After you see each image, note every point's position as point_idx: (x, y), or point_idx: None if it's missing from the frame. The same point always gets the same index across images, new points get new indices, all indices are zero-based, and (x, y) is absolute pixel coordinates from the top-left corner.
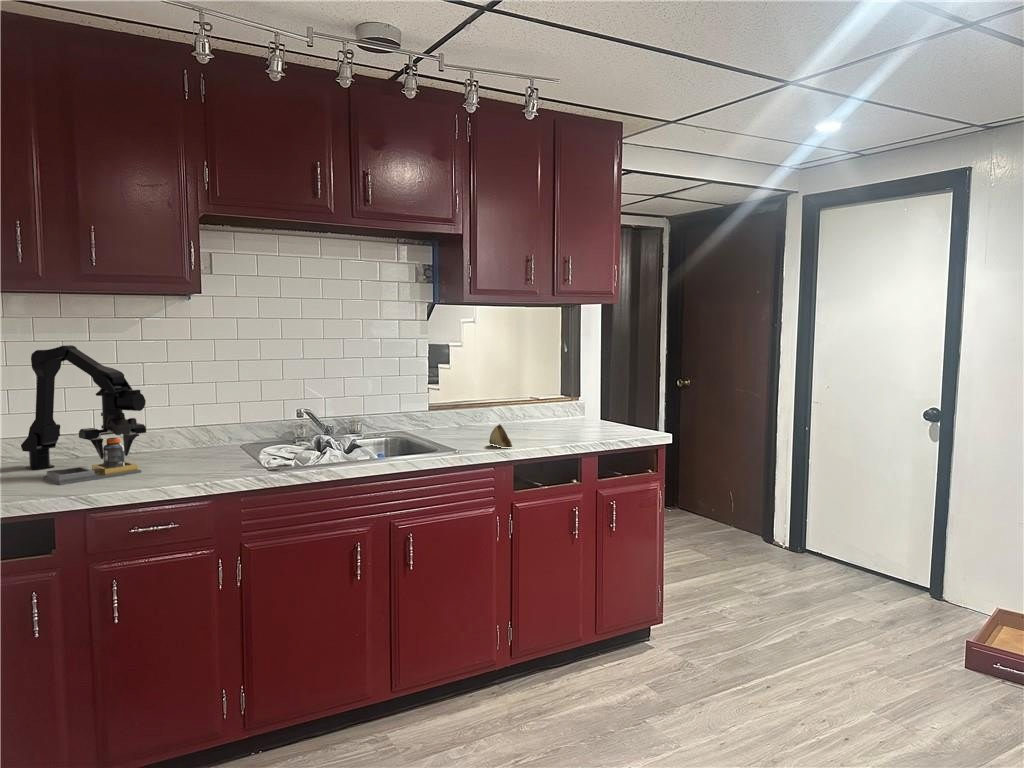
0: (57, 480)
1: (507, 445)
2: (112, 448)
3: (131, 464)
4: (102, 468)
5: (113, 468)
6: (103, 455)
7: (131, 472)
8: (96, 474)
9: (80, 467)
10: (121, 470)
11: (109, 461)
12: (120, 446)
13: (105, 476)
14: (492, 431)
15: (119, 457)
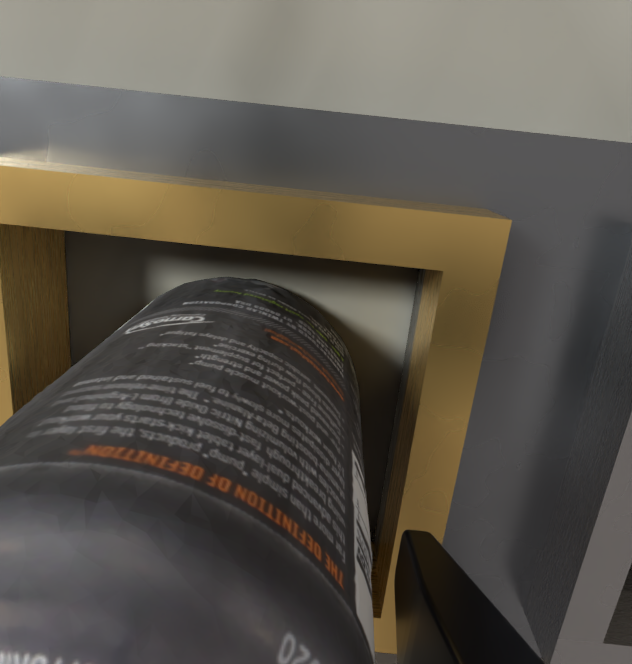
0: None
1: None
2: (240, 563)
3: (4, 275)
4: (489, 321)
5: (361, 205)
6: (417, 568)
7: (124, 93)
8: (550, 315)
9: (604, 626)
10: (236, 183)
11: (335, 408)
12: None
13: (524, 133)
14: None
15: (146, 358)
